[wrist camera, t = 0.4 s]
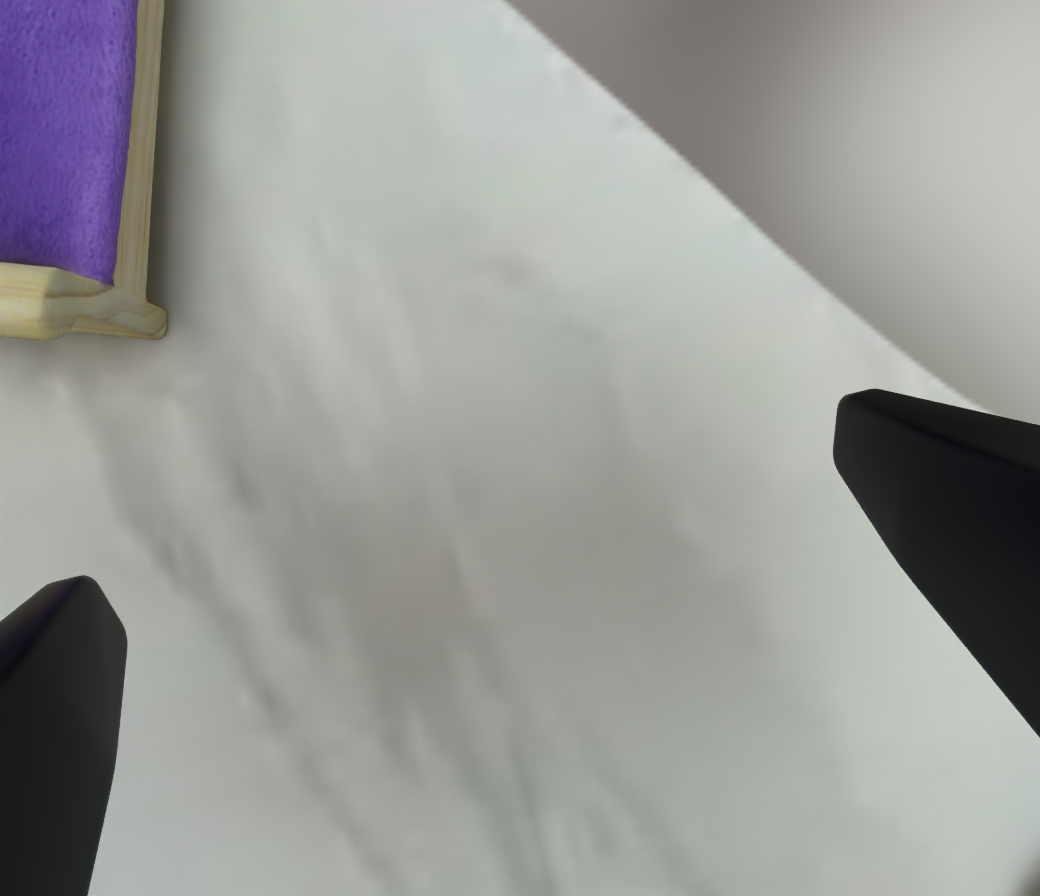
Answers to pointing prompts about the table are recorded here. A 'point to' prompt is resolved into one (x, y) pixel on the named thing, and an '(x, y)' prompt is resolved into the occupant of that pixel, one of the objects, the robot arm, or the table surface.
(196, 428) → the table surface
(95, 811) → the robot arm
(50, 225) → the toy sofa
